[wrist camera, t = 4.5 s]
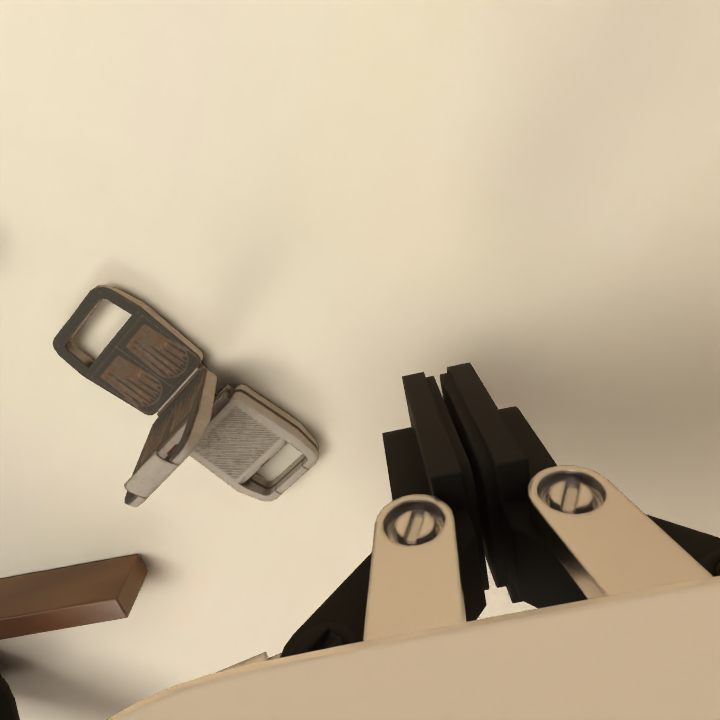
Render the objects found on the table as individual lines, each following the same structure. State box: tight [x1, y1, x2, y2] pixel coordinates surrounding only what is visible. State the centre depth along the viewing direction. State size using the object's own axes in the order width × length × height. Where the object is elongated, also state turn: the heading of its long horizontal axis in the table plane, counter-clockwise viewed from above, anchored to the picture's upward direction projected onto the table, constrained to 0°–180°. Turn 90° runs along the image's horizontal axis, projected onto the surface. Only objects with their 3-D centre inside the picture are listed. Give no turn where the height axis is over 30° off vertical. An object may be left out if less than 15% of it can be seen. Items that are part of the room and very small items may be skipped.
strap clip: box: [53, 285, 319, 507], centre depth 14 cm, size 8×3×4 cm, turn 46°
